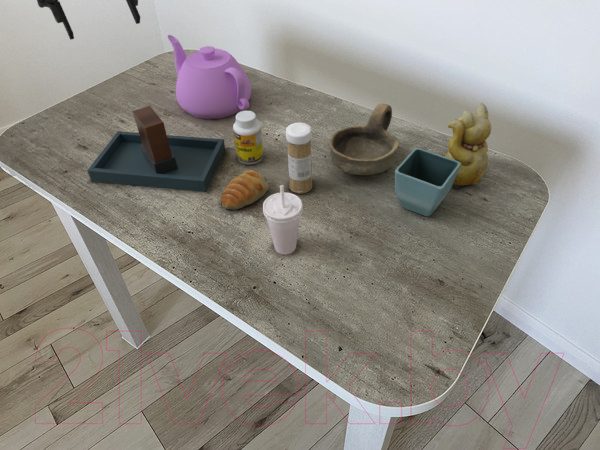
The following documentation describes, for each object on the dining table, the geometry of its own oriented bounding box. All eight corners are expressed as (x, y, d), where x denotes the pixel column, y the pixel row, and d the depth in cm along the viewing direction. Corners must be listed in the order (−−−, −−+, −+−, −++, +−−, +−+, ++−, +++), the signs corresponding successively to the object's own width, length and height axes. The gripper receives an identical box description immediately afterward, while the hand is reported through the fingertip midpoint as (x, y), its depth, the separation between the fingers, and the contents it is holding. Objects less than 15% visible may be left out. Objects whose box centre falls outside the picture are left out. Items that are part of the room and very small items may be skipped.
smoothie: (268, 262, 80) (262, 199, 71) (264, 235, 85) (258, 173, 75) (306, 257, 81) (305, 194, 71) (300, 231, 86) (298, 168, 76)
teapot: (274, 102, 117) (270, 47, 108) (222, 135, 108) (213, 78, 98) (203, 73, 129) (194, 21, 119) (151, 101, 119) (136, 47, 110)
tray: (91, 181, 97) (87, 170, 95) (121, 141, 107) (117, 130, 105) (206, 192, 94) (203, 181, 92) (225, 150, 104) (223, 139, 102)
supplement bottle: (232, 161, 101) (225, 118, 94) (246, 147, 104) (241, 105, 97) (254, 168, 99) (249, 126, 91) (268, 154, 102) (265, 112, 95)
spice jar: (311, 179, 96) (311, 120, 86) (312, 194, 93) (312, 135, 83) (288, 180, 96) (285, 121, 86) (288, 195, 93) (285, 136, 83)
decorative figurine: (458, 159, 99) (475, 93, 89) (493, 177, 95) (515, 110, 84) (429, 179, 95) (443, 112, 84) (464, 199, 90) (484, 131, 80)
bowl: (314, 172, 97) (314, 130, 90) (357, 131, 108) (360, 90, 101) (374, 196, 92) (379, 153, 85) (414, 151, 102) (421, 109, 95)
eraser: (143, 156, 101) (129, 110, 94) (163, 149, 103) (151, 103, 95) (157, 176, 96) (143, 129, 89) (178, 168, 98) (166, 122, 90)
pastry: (239, 218, 88) (237, 202, 86) (212, 204, 91) (209, 188, 89) (271, 190, 94) (270, 175, 91) (245, 178, 97) (242, 163, 94)
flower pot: (409, 184, 94) (415, 145, 88) (452, 200, 90) (462, 161, 84) (388, 209, 89) (393, 171, 83) (433, 228, 85) (442, 189, 79)
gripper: (122, -70, 105) (162, 22, 106) (-1, -50, 96) (44, 51, 97) (123, -94, 98) (166, 5, 99) (-10, -75, 89) (39, 34, 90)
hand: (105, 28), depth 98 cm, fingers open, 13 cm apart
